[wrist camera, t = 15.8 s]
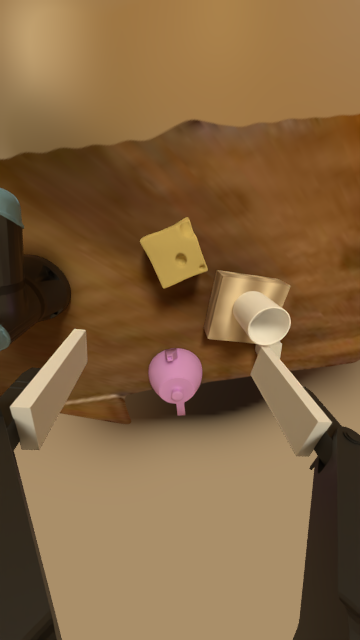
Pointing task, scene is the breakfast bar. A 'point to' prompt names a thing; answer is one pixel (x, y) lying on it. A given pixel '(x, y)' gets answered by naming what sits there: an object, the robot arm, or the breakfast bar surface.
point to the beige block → (275, 348)
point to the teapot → (175, 376)
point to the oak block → (224, 296)
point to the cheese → (174, 253)
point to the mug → (261, 318)
